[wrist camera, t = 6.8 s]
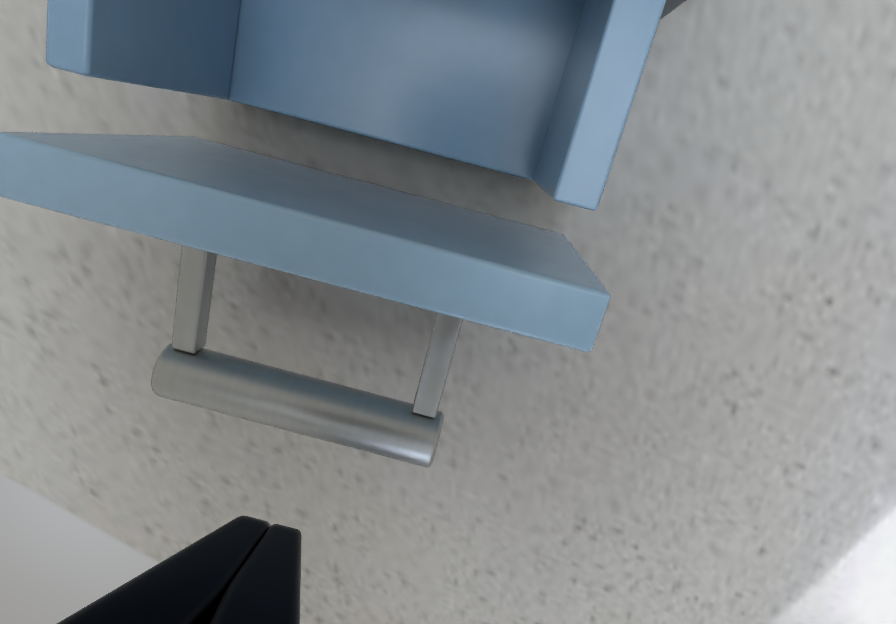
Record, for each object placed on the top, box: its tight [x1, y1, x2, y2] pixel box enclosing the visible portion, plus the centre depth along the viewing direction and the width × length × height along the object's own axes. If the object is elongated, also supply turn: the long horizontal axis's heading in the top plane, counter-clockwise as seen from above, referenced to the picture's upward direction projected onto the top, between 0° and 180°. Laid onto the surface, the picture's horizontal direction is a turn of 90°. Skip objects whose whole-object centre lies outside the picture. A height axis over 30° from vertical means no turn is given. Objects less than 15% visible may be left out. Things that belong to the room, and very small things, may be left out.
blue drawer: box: [0, 0, 666, 467], centre depth 12 cm, size 18×11×7 cm, turn 166°
